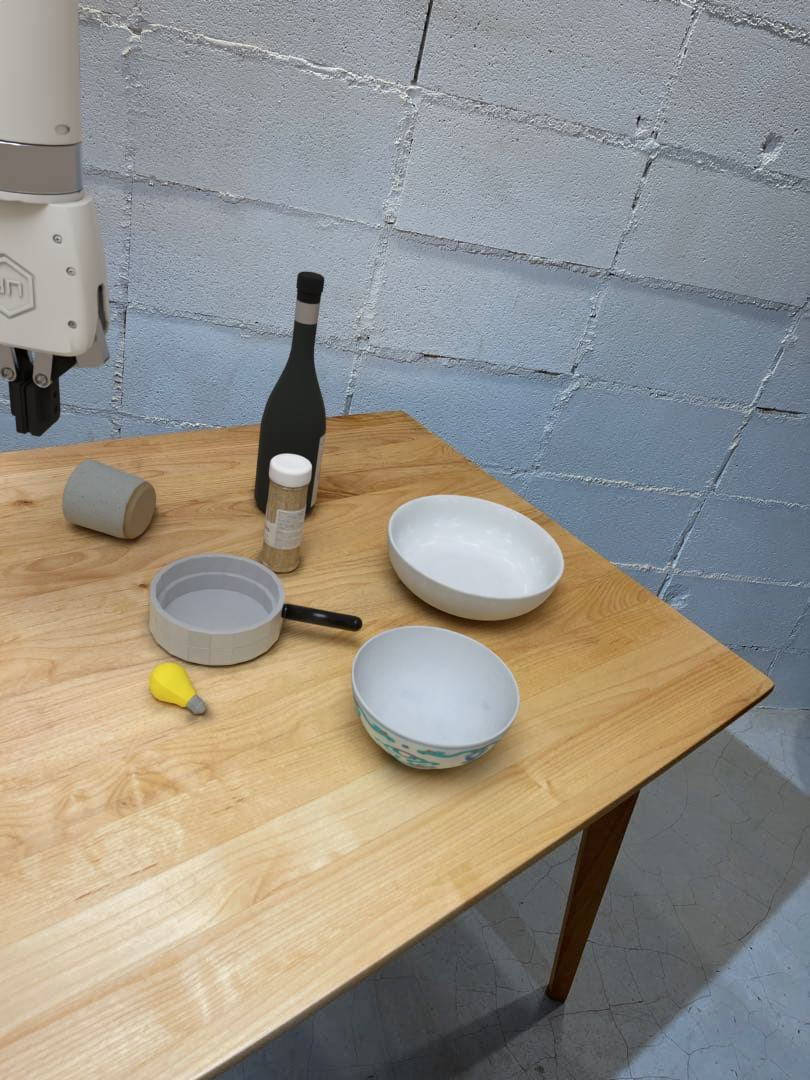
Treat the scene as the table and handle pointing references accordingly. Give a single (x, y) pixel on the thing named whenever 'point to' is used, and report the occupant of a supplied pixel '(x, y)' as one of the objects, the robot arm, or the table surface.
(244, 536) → the table surface
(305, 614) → the pan handle
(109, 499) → the ceramic mug
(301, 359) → the wine bottle
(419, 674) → the chinaware
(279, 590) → the pan
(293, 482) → the spice jar
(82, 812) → the table surface
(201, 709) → the light bulb
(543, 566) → the serving bowl
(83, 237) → the robot arm
